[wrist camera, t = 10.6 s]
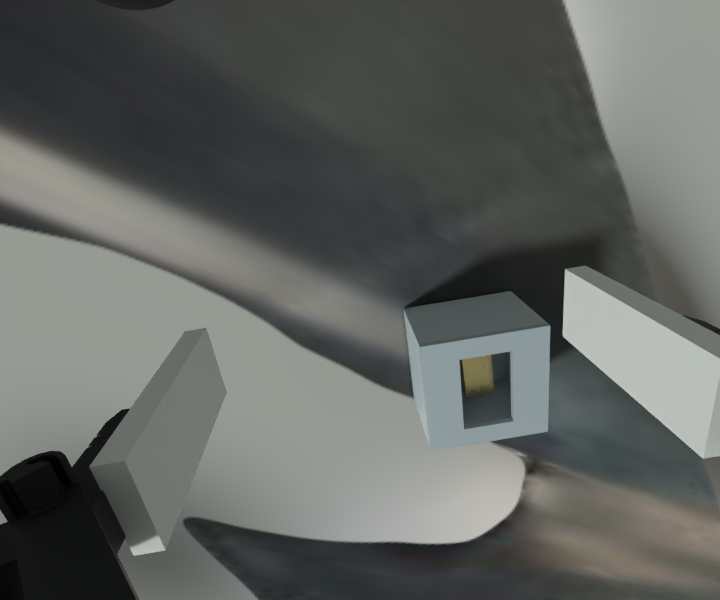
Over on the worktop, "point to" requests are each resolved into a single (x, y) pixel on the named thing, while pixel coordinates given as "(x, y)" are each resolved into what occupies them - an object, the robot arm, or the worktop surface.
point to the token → (476, 375)
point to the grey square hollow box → (474, 339)
